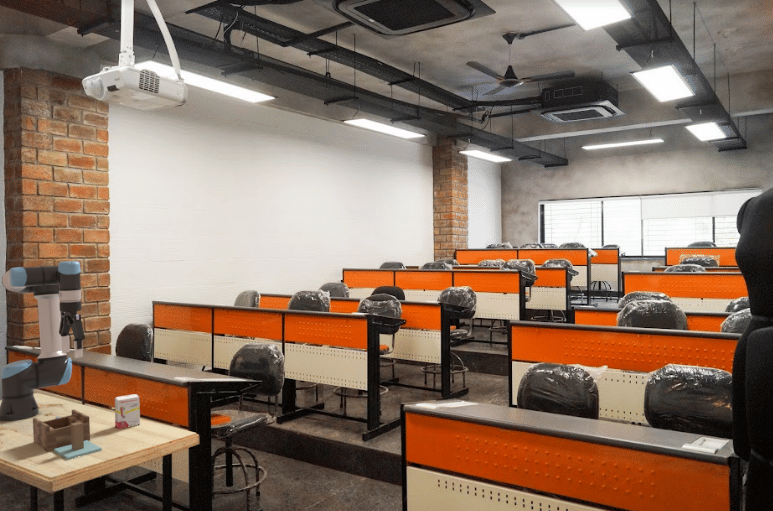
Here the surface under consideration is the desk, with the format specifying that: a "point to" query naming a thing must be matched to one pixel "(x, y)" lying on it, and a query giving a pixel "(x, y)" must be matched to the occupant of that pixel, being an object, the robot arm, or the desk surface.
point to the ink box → (127, 411)
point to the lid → (77, 444)
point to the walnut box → (59, 430)
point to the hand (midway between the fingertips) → (72, 354)
